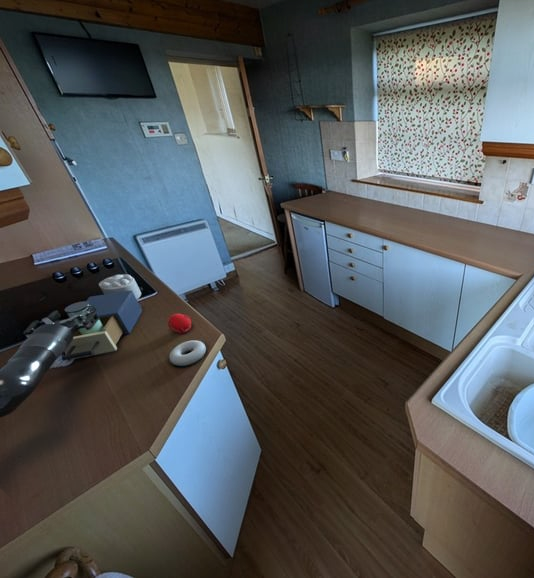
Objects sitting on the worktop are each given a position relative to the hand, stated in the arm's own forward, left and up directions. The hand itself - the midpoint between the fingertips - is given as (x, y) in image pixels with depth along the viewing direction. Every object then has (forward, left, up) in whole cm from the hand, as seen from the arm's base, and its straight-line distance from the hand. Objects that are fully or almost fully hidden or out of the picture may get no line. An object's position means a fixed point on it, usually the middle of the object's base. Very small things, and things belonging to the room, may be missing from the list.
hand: (75, 310), depth 89 cm
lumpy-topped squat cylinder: (-3, +34, -16) cm, 37 cm away
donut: (+28, -14, -16) cm, 35 cm away
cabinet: (0, +13, -15) cm, 20 cm away
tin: (0, +1, -13) cm, 13 cm away
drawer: (0, -1, -14) cm, 14 cm away
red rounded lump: (+24, +2, -16) cm, 28 cm away
